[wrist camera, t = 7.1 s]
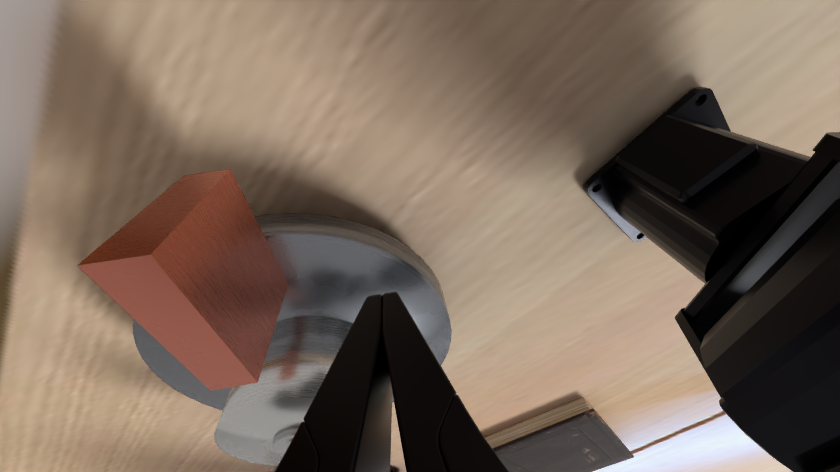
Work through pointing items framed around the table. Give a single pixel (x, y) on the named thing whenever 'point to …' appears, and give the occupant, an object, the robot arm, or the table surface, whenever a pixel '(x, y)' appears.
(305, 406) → the cover
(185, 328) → the turntable
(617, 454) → the hardcover book
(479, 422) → the table surface
